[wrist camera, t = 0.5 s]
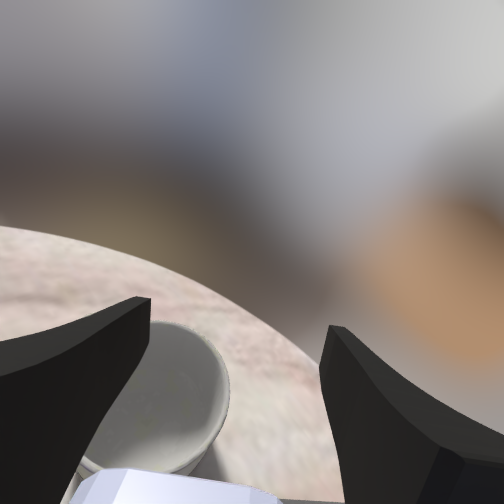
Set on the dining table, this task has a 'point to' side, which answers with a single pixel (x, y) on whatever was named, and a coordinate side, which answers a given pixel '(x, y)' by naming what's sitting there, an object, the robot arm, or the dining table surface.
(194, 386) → the teacup
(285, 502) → the rubber mat
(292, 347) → the dining table surface
